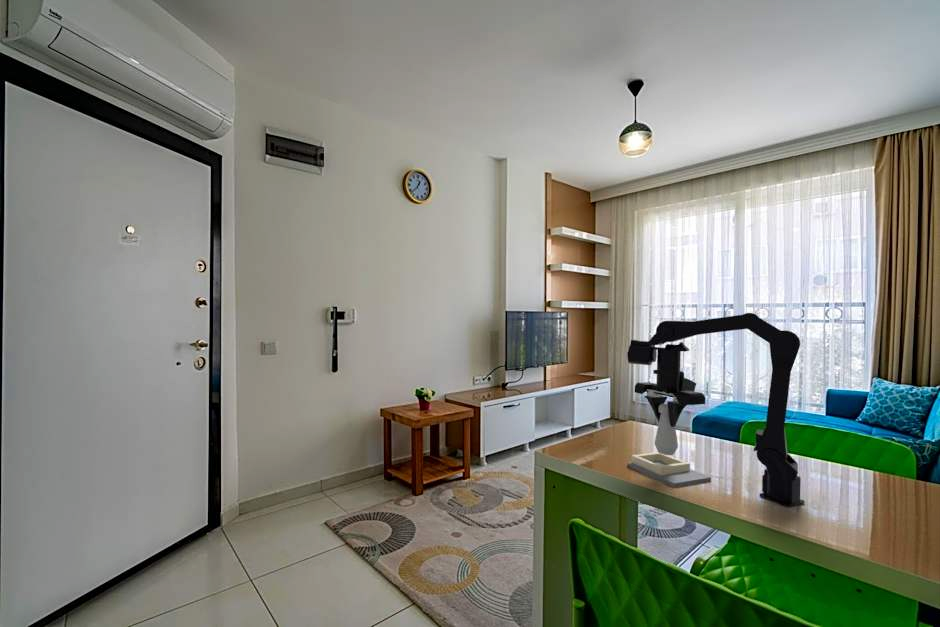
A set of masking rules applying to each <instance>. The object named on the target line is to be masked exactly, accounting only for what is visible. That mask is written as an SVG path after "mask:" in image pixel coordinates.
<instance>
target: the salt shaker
mask: <svg viewBox="0 0 940 627" xmlns="http://www.w3.org/2000/svg"><path fill="white" fill-rule="evenodd" d="M659 412H660V413H661V415H660V419H659V422H658V425H657V430H656V434H655V440H654V446H655V448H656V450H657V452H659V453H661V454H664V455H669V456H673V455H674V454H675V453H676V451H677V450H678V448H679V442H678V435H677V430H676V426H675V427H671V424H670V419H669V412H668V404H667V403H664V404H660V405H659Z"/></svg>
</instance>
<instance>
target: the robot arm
mask: <svg viewBox="0 0 940 627" xmlns="http://www.w3.org/2000/svg"><path fill="white" fill-rule="evenodd" d="M655 330H656V331H655V334H653V336H652V337H651V338H650V339H649V341H647V340H646V341H645V340H639V339H630V344H629V347H628V351H627V352H626V356H627V362H628V363H629V364H632V365H644V366H651V365H652V364H653V363H656V369H653V371H652V372H653V373H652V374H654V375H656V383H652V382H649V381H647V382H636V383H635V385H634V393H636V394H639V395H643V394H645V393H646V395H644V399H646V400H647V401H648V403H649V405H650V407H651V409H652V411H653V414H654V415H655V418H656V420H657V421H658V422H657V423H659V419H660V415H661V413H660V412H659V405H660V404H668V412H669V419H670V424H671V427H675V428H676V425H677V423H678V420H679V418H680V416H681V414H682V412H683V410H684V409H685V408H686V407H687V406H697V405H706V396H705V394H704V393H703V392H701V391H700V392H699V391H696V387H697V382H695V381H694V380H691V379H688V378H686V377H685V373H684V371H681V356H682V355H681V353H682V352H685V353H686V352H689V351H690V348H689V347H688V346H687V345H685V343H684V342H682V341H681V340H685V339H687V338H691V337H694V336H698V335H706V334H716V333H723V332H732V331H739V330H749V331H750V332H752V333H753V334H755V335H756V336H758V337H760V339H762V340H764V341H765V342H767V343H769V353H770V360H771V379H770V387H769V396H768V404H767V412H766V421H765V426H764V429H763V430H761V429H757V430H756V432H755V444H754V447H753V451H754V452H756V457H757V460H758V461H759V463H761V465H763V466H765V469H764V470H763V471H764V472H763V475H762V481H761V484H762V485H761V491H762V492H760V493H759V497H760V498H761V497H762V498H764V499H766V500H769V501H770V502H771V501H772V502H775V503H776V504H779V505H781V506H785V507H787V508H789V507H792V506H797V505H802V504H805V503H806V502H805V500H803V499H801V476H799V475H798V474H799V464H798V462H797V461H796V460H795V459H794V458H793V457H792V456H791V455H790V454H789V453H788V448H787V447H788V446H787V437H786V429H785V424H786V416H787V408H788V400H789V390H790V383H791V382H790V381H791V375H792V374H791V373H792V369H793V367H794V364H795V362H796V358H797V357H798V354H799V351H800V347H801V340H800V337H799V336H798V335H797V334H796V333H794V332H792V331H790V330H785V329H784V330H781V329H779V328H777V327H776V326H774V325H773V324H770V323H769V322H767V321H766V320H764V319H762V318H760V316H758V314H755V313H752V312H746V313H743V314H738V315H730V316H723V317H715V318H708V319H702V320H694V321H693V320H692V321H691V320H690V321H687V320H663V321H661V322H659V324H658V325H657V327H656V329H655ZM677 341H681V342H678V344H669V343H673V342H677ZM667 343H668V344H667ZM664 344H665V346H664V347H658V346H659V345H664ZM668 398H673V399H672V400H671V401H669V400H668ZM667 400H668V401H667Z"/></svg>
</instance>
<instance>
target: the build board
mask: <svg viewBox="0 0 940 627" xmlns="http://www.w3.org/2000/svg"><path fill="white" fill-rule="evenodd" d="M626 466H627V467H628V466H629V467H628V468H630V467H631V468H630V469H632V468H633V470H634V469H635V470H634V471H636V472H639V473H641V474H643V475H645V476H648V477H650V478H652V479H654V480H656V481H658V482H660V483H663V484H666V485H668V486H670V487H672V488H679V487H683V486H692V485H696V484H702V483H708V482H711V481H712V477H711V476H709V475H706V474H704V473H701V472H698V471H696V470H693V469H691V463H690V462H687V461H684V460H681V459H679V458H676V457H673V456H672V455H664V454H661V453H659V452H658V451H656V452H649V453H641V454H632V455H631V461H630V462H627V464H626Z"/></svg>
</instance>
